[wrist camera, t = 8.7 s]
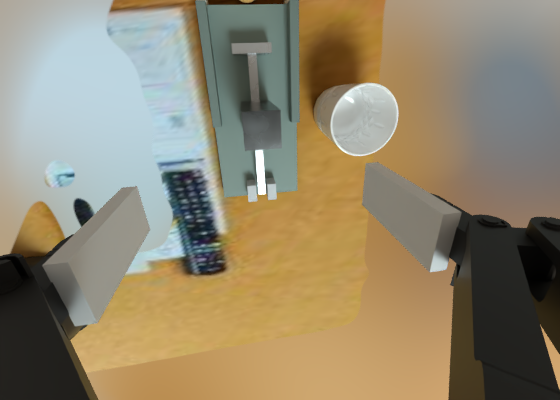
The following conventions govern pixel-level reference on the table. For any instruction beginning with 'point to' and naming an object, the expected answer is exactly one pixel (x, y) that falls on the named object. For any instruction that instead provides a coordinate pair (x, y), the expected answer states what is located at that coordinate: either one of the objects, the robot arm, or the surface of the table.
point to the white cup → (357, 117)
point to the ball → (246, 1)
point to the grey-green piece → (236, 88)
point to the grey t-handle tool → (258, 112)
